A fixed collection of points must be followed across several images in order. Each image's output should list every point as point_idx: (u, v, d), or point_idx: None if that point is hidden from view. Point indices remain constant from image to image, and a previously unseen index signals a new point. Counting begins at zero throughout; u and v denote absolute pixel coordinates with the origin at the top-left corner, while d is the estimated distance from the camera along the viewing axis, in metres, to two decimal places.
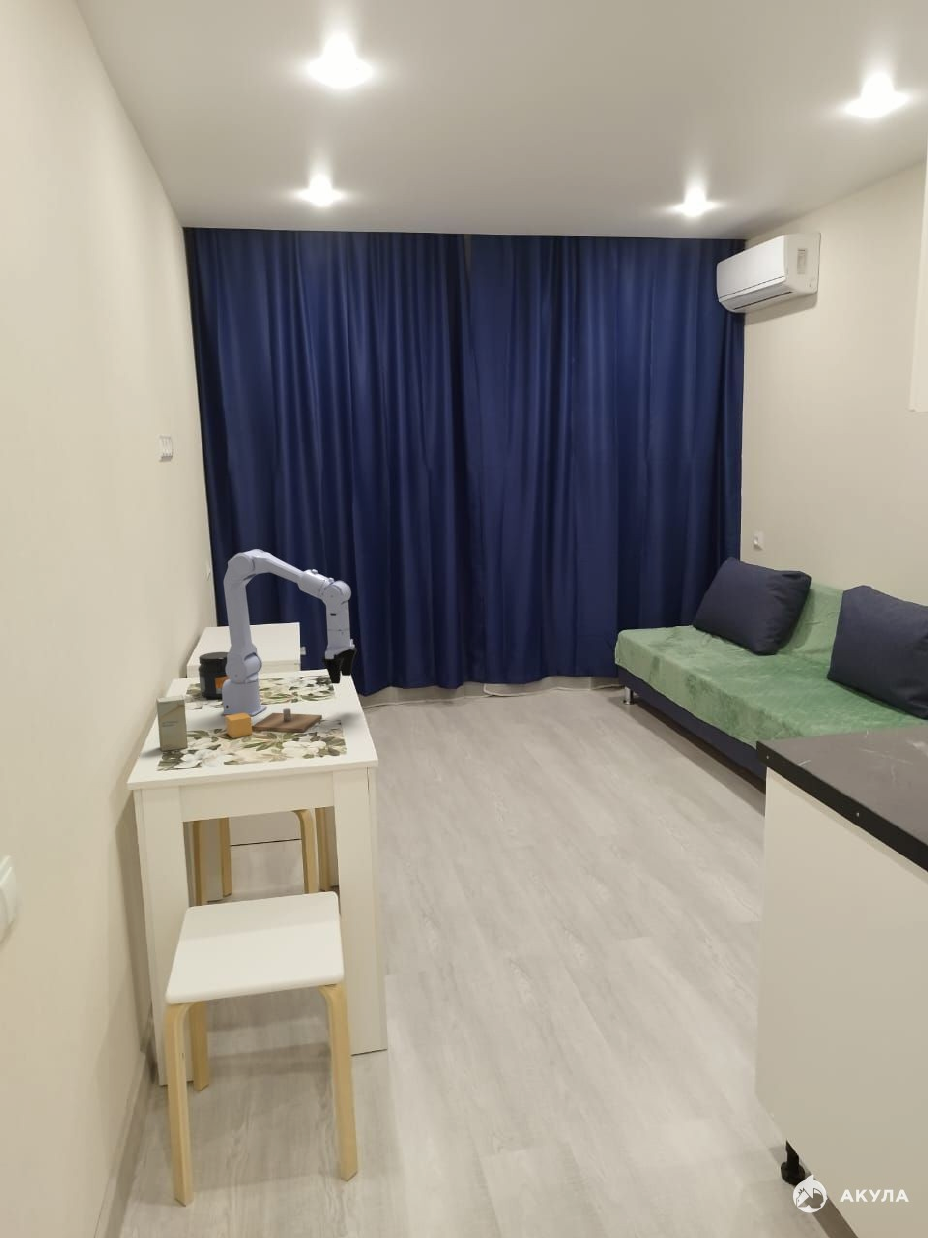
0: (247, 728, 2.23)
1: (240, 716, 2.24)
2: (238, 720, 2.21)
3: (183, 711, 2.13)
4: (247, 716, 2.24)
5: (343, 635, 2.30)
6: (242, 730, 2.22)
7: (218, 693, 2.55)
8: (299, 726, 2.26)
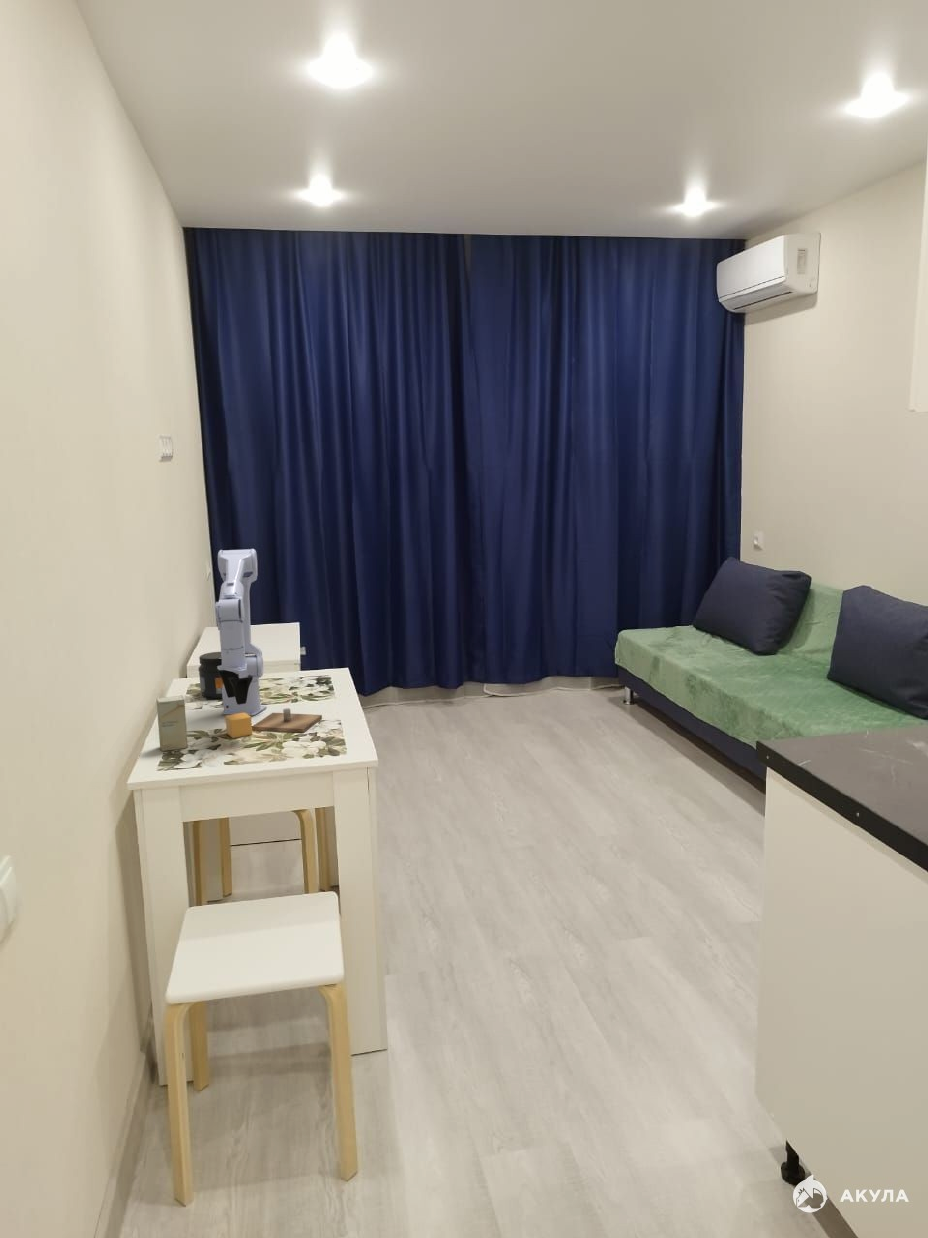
0: (247, 728, 2.23)
1: (240, 716, 2.24)
2: (238, 720, 2.21)
3: (183, 711, 2.13)
4: (247, 716, 2.24)
5: None
6: (242, 730, 2.22)
7: (218, 693, 2.55)
8: (299, 726, 2.26)
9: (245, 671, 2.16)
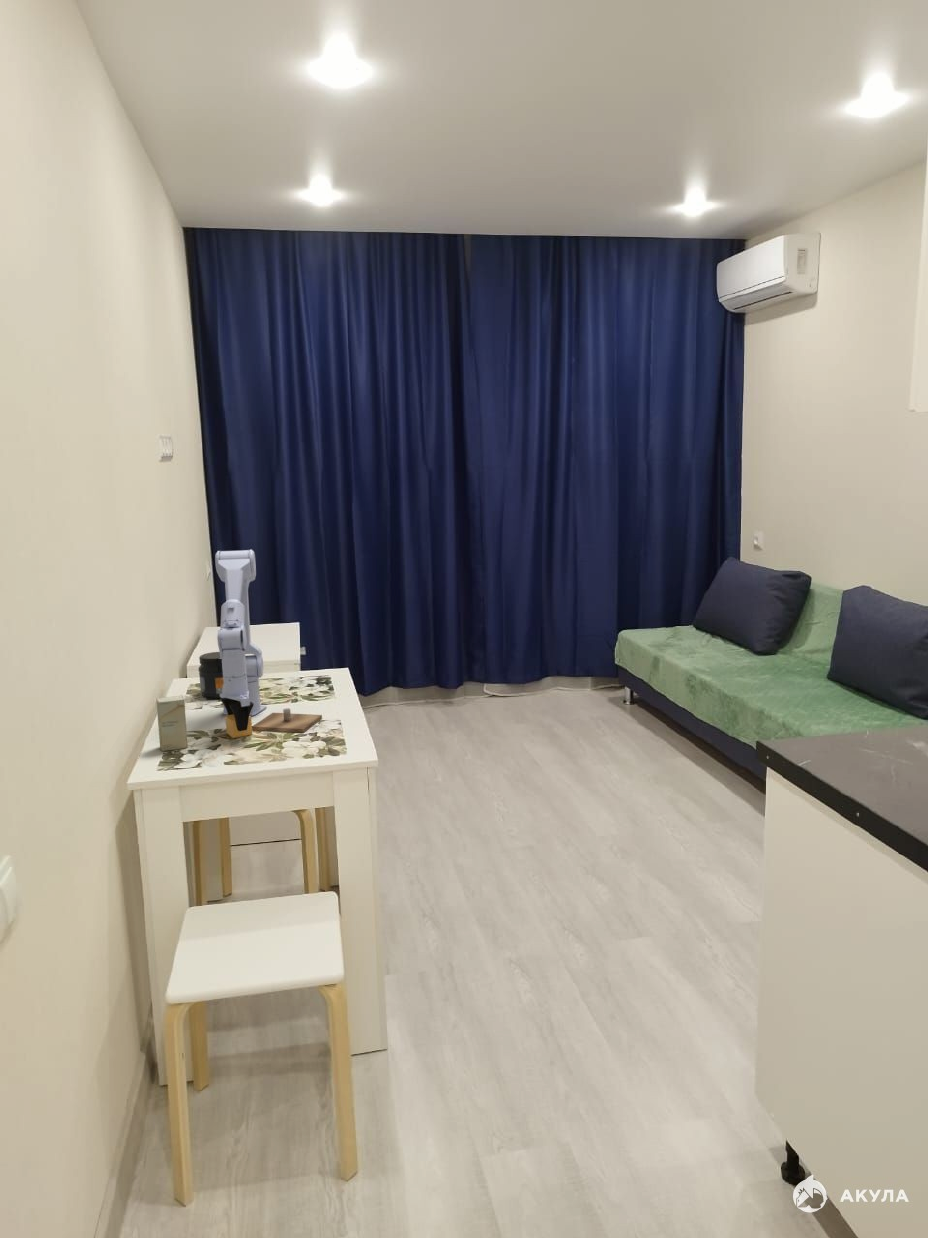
0: (247, 728, 2.23)
1: None
2: None
3: (183, 711, 2.13)
4: None
5: None
6: None
7: (218, 693, 2.55)
8: (299, 726, 2.26)
9: (247, 699, 2.17)
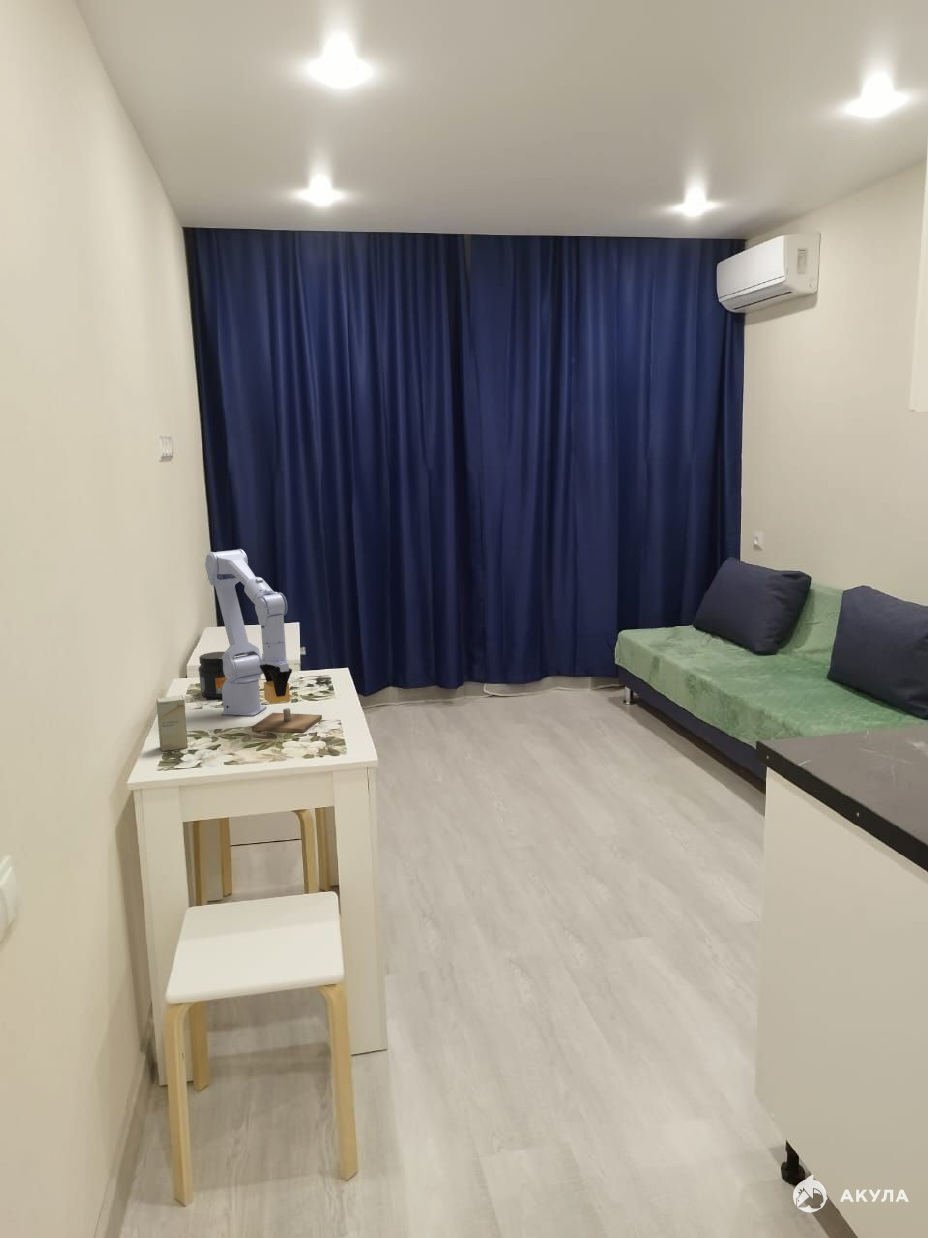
0: (285, 694, 2.27)
1: None
2: None
3: (183, 711, 2.13)
4: None
5: None
6: None
7: (218, 693, 2.55)
8: (299, 726, 2.26)
9: (286, 665, 2.21)
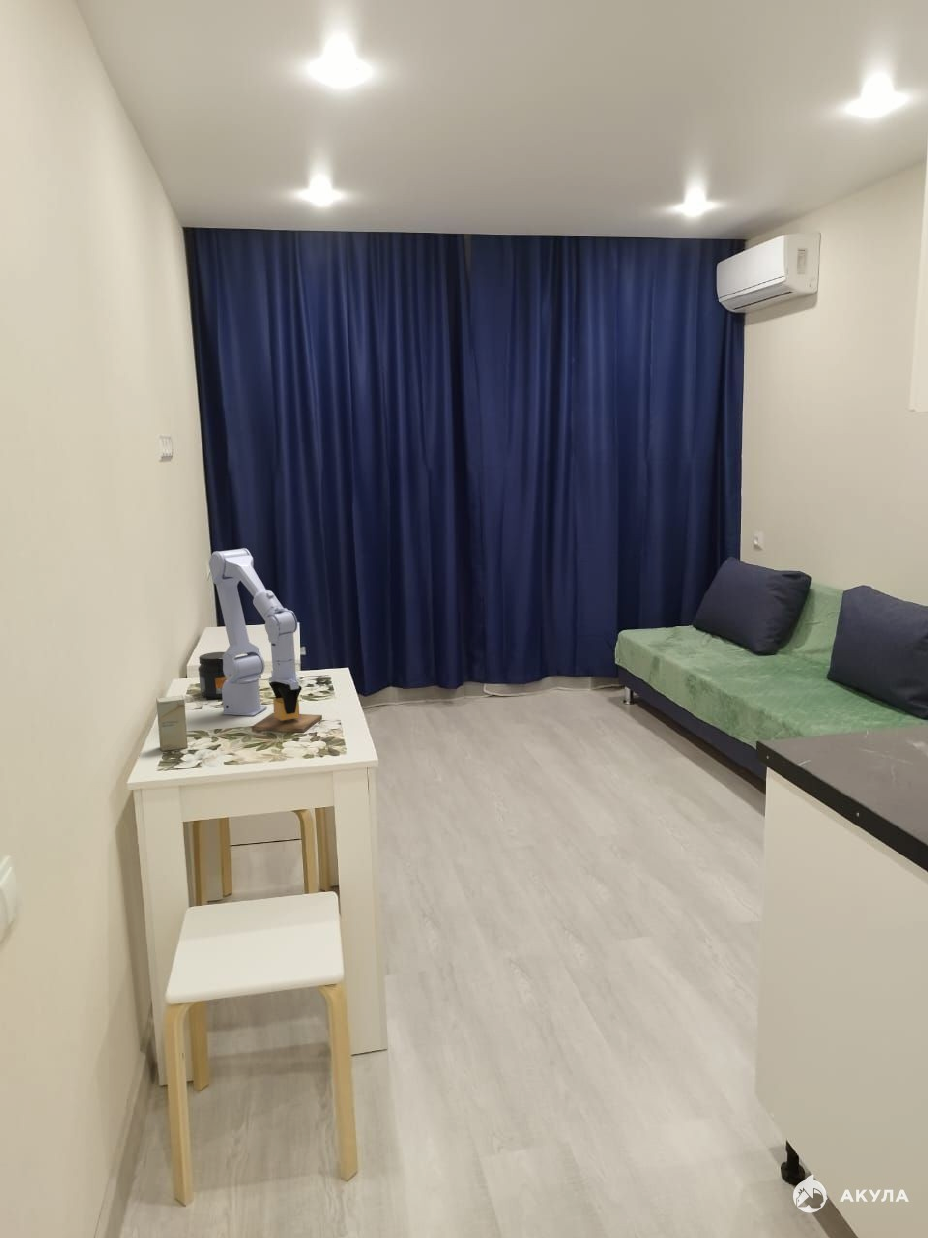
0: (295, 711, 2.29)
1: None
2: None
3: (183, 711, 2.13)
4: None
5: None
6: (290, 713, 2.28)
7: (218, 693, 2.55)
8: (299, 726, 2.26)
9: (296, 682, 2.23)
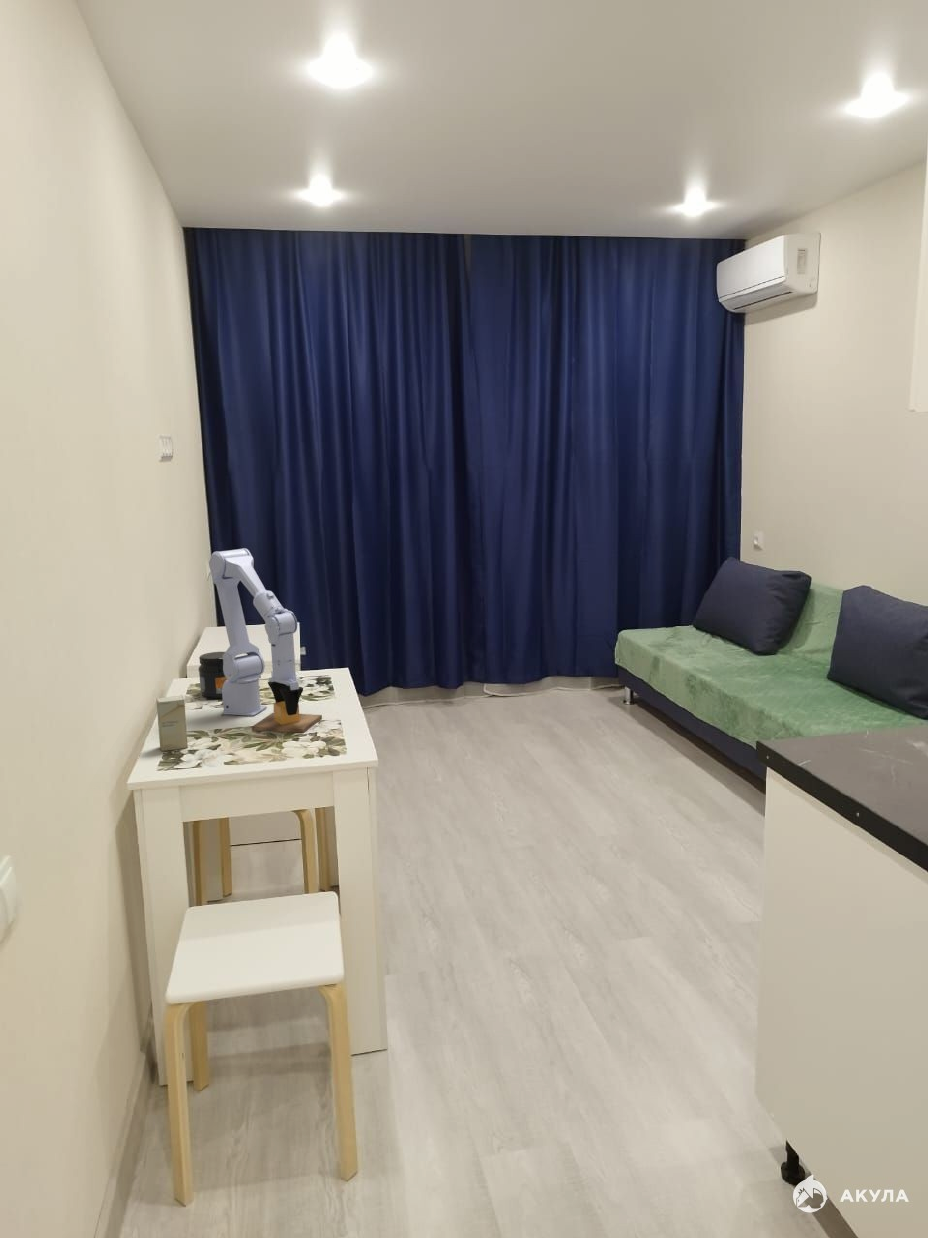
0: (295, 715, 2.29)
1: None
2: None
3: (183, 711, 2.13)
4: None
5: None
6: (290, 717, 2.29)
7: (218, 693, 2.55)
8: (299, 726, 2.26)
9: (296, 683, 2.23)
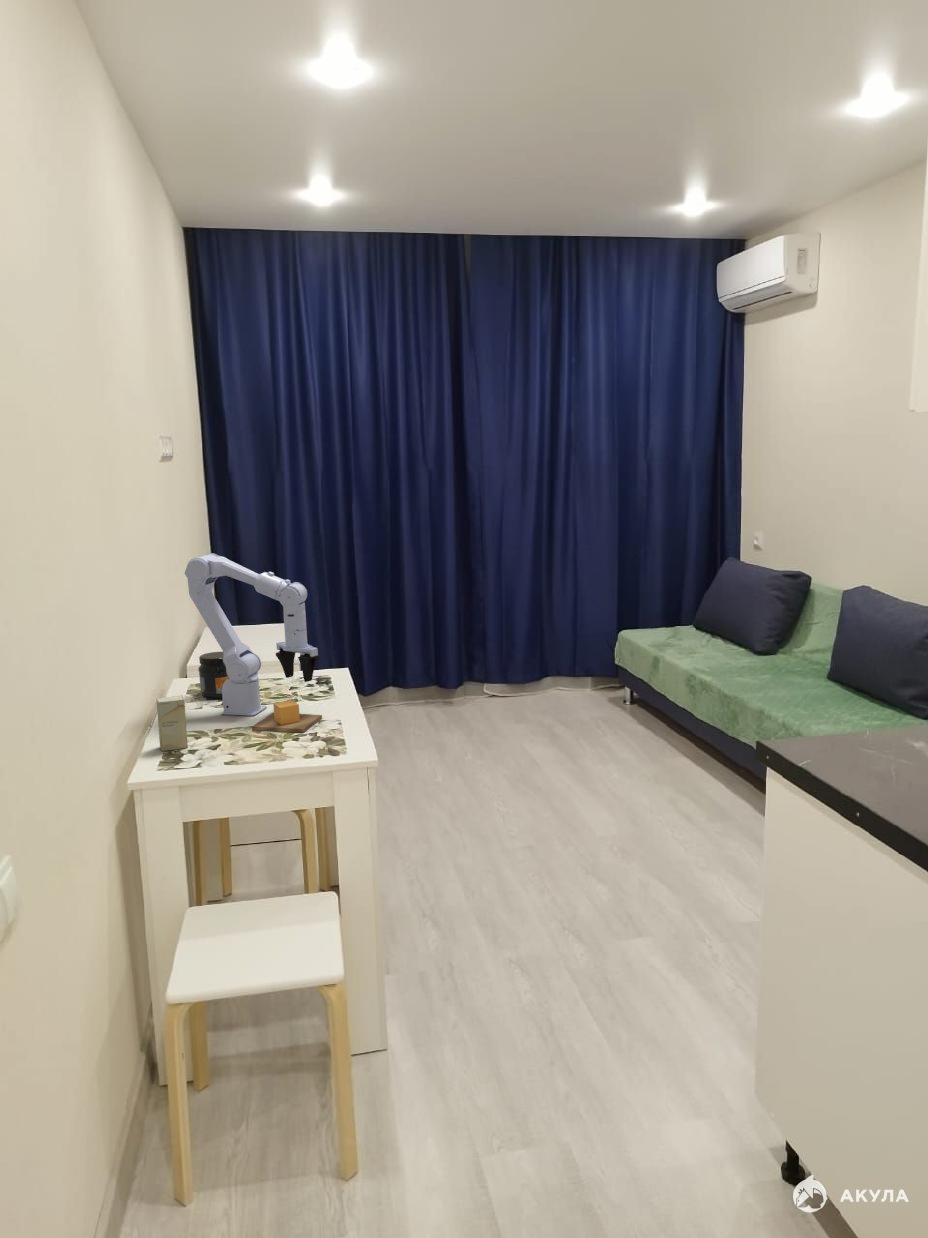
0: (295, 715, 2.29)
1: (288, 703, 2.30)
2: (286, 707, 2.28)
3: (183, 711, 2.13)
4: (295, 703, 2.30)
5: None
6: (290, 717, 2.29)
7: (218, 693, 2.55)
8: (299, 726, 2.26)
9: (316, 649, 2.33)
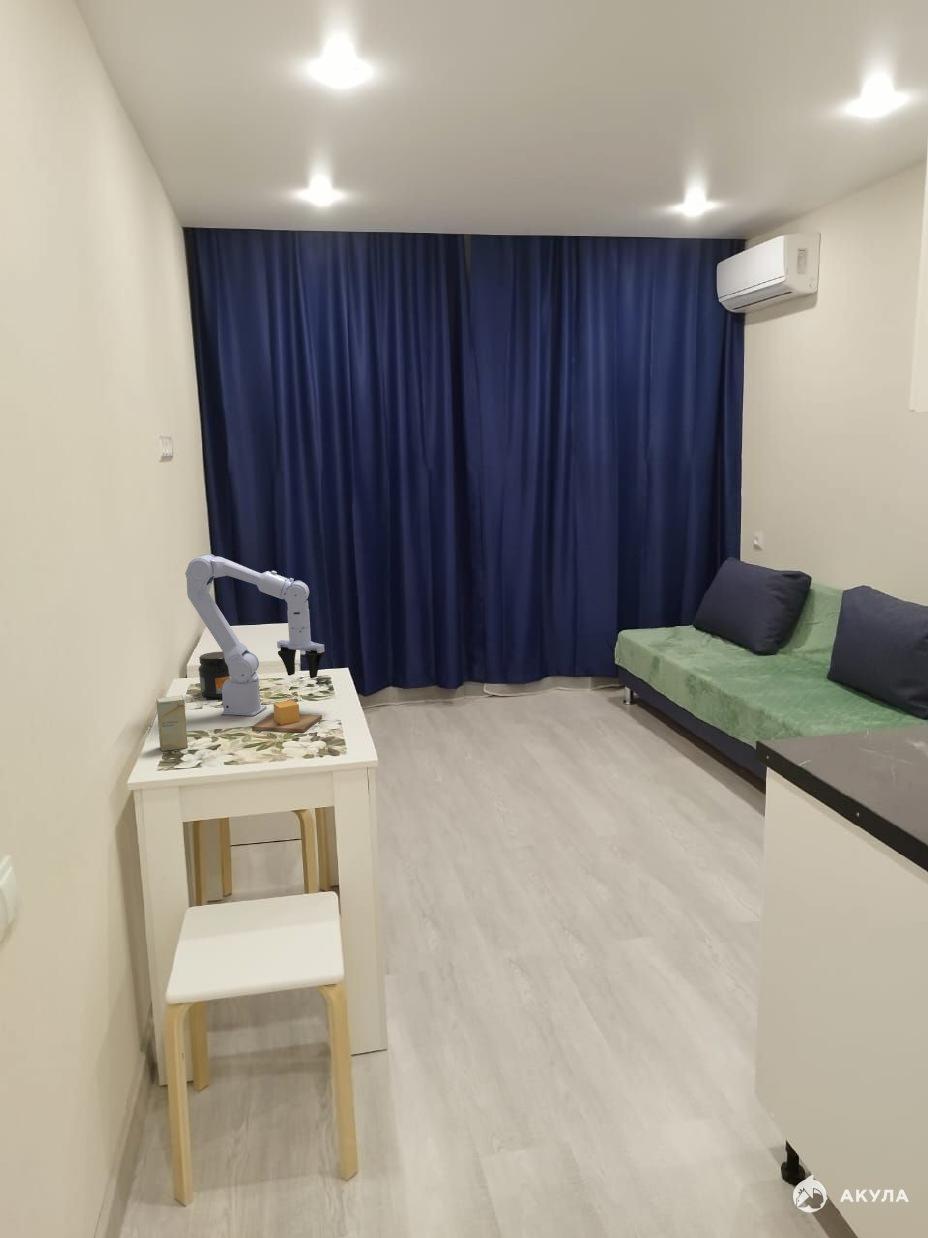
0: (295, 715, 2.29)
1: (288, 703, 2.30)
2: (286, 707, 2.28)
3: (183, 711, 2.13)
4: (295, 703, 2.30)
5: None
6: (290, 717, 2.29)
7: (218, 693, 2.55)
8: (299, 726, 2.26)
9: (323, 646, 2.37)
